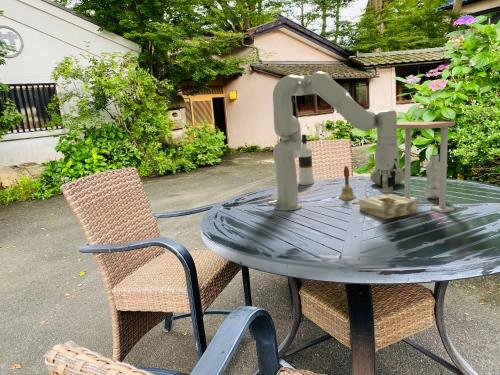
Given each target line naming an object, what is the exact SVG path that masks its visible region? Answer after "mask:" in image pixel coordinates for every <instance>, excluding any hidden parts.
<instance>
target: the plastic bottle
mask: <svg viewBox="0 0 500 375" xmlns="http://www.w3.org/2000/svg"><path fill="white" fill-rule="evenodd" d="M428 159H429V161H428V162H427V164H426V165H425V170H426V189H425V192H424V193H425V196H426V197H427V199H431V200H434V199H439V185H440V154H430V155H429V158H428Z"/></svg>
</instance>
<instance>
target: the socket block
mask: <svg viewBox="0 0 500 375" xmlns="http://www.w3.org/2000/svg"><path fill="white" fill-rule="evenodd" d="M404 197H405V196H400V195H398V194H394V193H392V194H382V195H381V194H380V195H376V196H369V197H364V198H359V202H358V203H359V211H360V212H363V211H364V212H363V213H366V214H369V215H372V216H374V217H377V218H379V219H381V220H387V219H391V218H392V219H393V218H397V217H402V216H403V217H404V216H408V215H409V216H410V215H414V214H417V213H418V210H417V209H418V205H417V204H418V202H417V201H415V200H411V199H407V198H404Z"/></svg>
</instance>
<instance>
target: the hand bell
mask: <svg viewBox="0 0 500 375" xmlns="http://www.w3.org/2000/svg"><path fill="white" fill-rule="evenodd" d="M343 176H344V180H345V181H344V184H345V185H344V186H343V187H342V188H341V189H342V191H341V193H340V195H339V196H338V199H339V200H343V201H346V200H347V201H351V200H355V199H357V197H356V195H355V194H354V193H353V192H354V191H353V187H352V186H350V184H349V183H350V182H349V177H350V170H349V167H348V165H346V166H344V168H343Z"/></svg>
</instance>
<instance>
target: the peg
mask: <svg viewBox="0 0 500 375" xmlns="http://www.w3.org/2000/svg"><path fill="white" fill-rule="evenodd" d="M392 169H393V168H392ZM392 172H393V171H391V173H392ZM388 177H389V175H388V170H382V178H383V186H382V194H383V195H386V194H394V186H393V187H388Z"/></svg>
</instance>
